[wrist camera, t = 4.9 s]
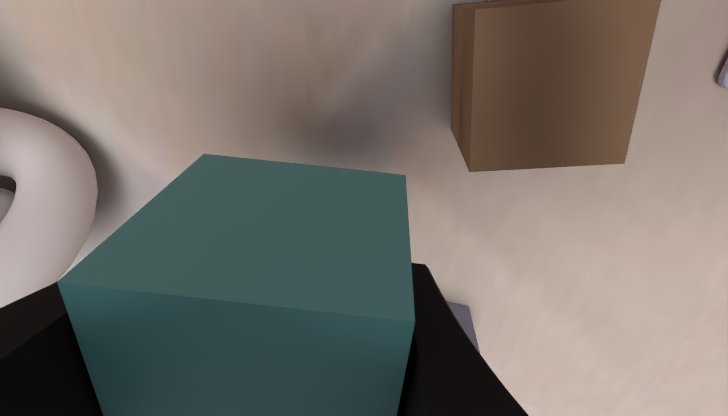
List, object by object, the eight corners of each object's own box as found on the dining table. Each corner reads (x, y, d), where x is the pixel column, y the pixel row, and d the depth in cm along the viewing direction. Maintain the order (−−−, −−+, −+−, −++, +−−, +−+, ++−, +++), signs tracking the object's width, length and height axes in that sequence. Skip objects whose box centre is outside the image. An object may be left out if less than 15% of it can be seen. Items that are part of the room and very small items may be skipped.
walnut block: (585, -9, 15) (662, -8, 11) (567, 120, 18) (624, 163, 13) (452, 4, 16) (475, 9, 12) (451, 128, 18) (469, 171, 14)
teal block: (405, 175, 10) (415, 321, 6) (383, 325, 12) (377, 510, 8) (204, 154, 10) (56, 282, 6) (220, 307, 12) (126, 481, 8)
